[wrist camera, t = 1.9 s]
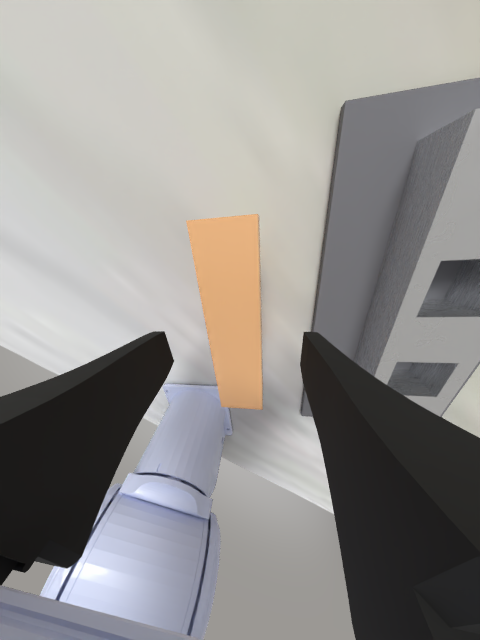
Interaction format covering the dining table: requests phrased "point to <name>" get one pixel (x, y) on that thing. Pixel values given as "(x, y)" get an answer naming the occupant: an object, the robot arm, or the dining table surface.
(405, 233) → the rail
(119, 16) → the dining table surface
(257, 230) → the orange foam brick
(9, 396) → the robot arm
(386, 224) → the mat
